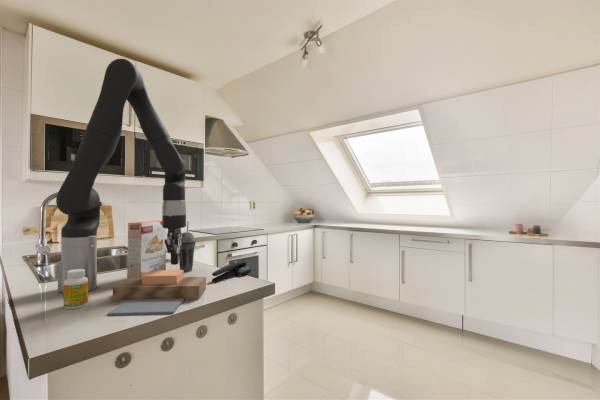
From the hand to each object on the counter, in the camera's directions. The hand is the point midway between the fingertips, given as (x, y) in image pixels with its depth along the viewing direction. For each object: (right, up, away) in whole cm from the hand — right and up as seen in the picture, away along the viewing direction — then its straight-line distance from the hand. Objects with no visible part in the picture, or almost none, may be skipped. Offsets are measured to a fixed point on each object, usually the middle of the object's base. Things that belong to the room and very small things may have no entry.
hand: (174, 264), depth 104 cm
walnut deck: (+1, -7, -11) cm, 13 cm away
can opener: (+17, -8, +10) cm, 21 cm away
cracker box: (-13, -7, +8) cm, 17 cm away
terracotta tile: (+1, -2, -10) cm, 10 cm away
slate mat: (+2, -7, -21) cm, 23 cm away
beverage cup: (-3, -7, +19) cm, 20 cm away
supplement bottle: (-18, -7, -21) cm, 29 cm away
